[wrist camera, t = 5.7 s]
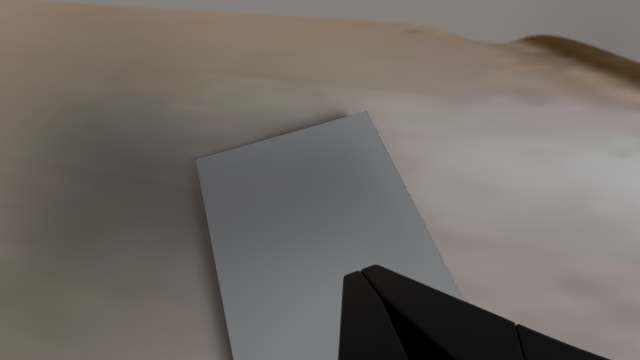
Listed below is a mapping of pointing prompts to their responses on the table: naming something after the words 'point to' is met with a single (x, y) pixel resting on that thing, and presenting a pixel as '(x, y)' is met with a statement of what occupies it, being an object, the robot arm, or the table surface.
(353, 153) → the grey tile
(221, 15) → the table surface
